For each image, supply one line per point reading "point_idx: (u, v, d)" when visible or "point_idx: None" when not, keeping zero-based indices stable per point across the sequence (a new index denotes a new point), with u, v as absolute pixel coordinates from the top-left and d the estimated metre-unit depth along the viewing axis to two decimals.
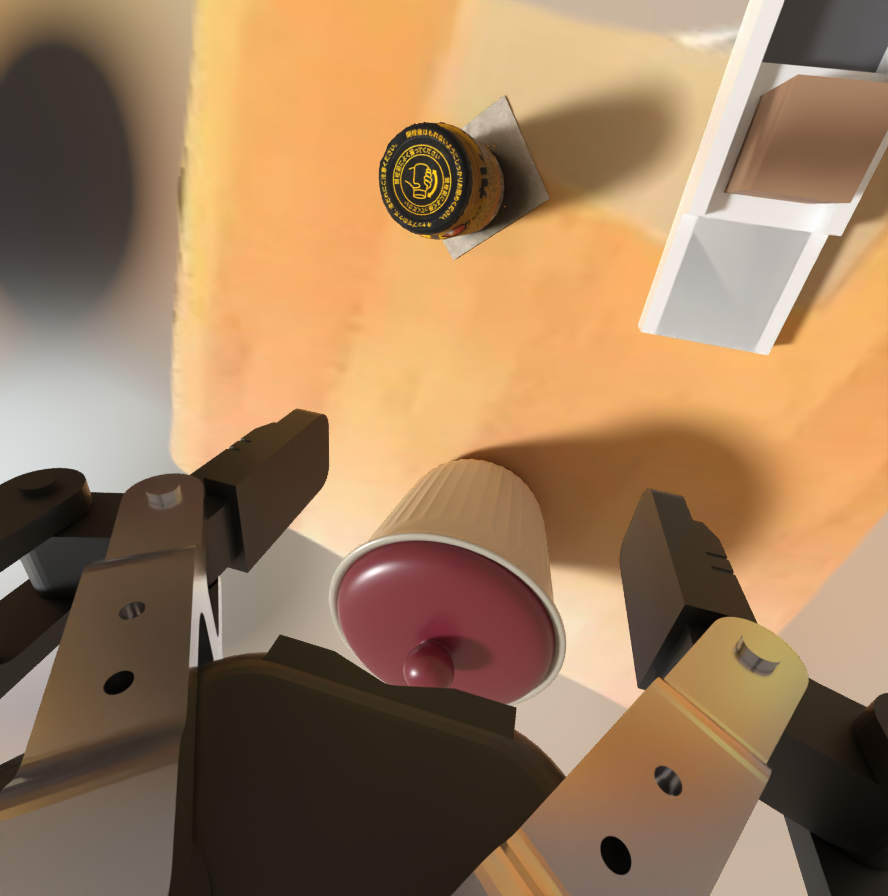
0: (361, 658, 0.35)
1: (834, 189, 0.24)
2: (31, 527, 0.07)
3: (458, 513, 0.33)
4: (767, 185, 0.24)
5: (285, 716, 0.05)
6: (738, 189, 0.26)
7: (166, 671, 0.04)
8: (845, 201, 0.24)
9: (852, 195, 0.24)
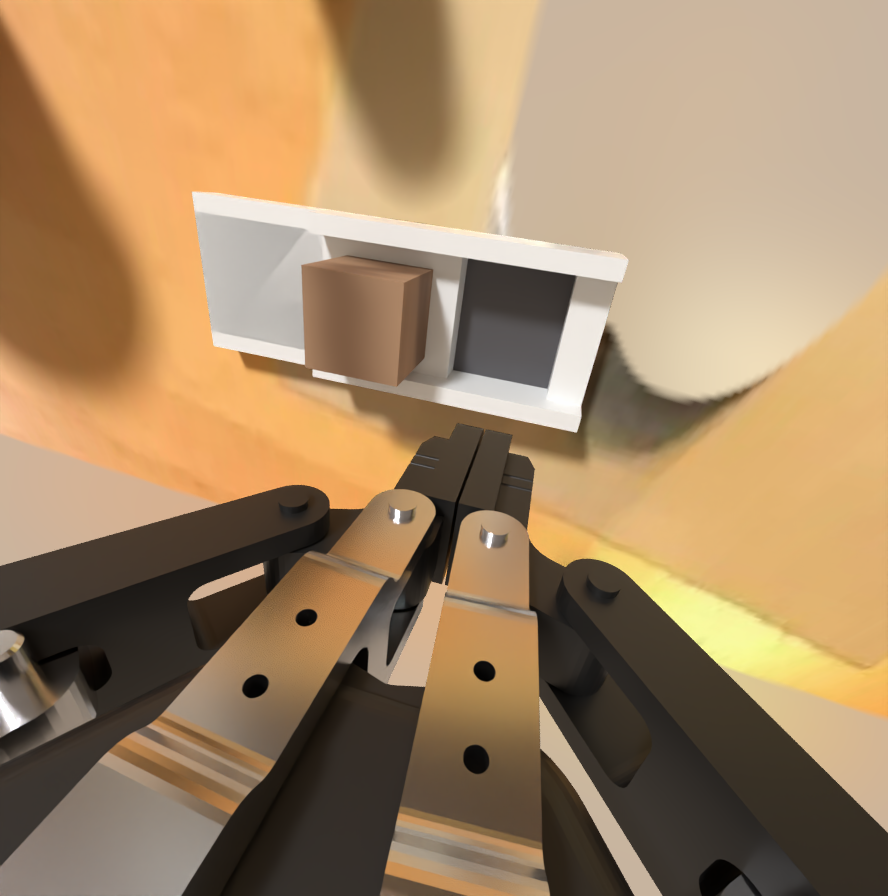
0: None
1: (313, 350, 0.23)
2: (264, 544, 0.07)
3: None
4: (307, 282, 0.21)
5: None
6: (325, 260, 0.23)
7: (289, 702, 0.04)
8: (305, 363, 0.23)
9: (311, 367, 0.23)
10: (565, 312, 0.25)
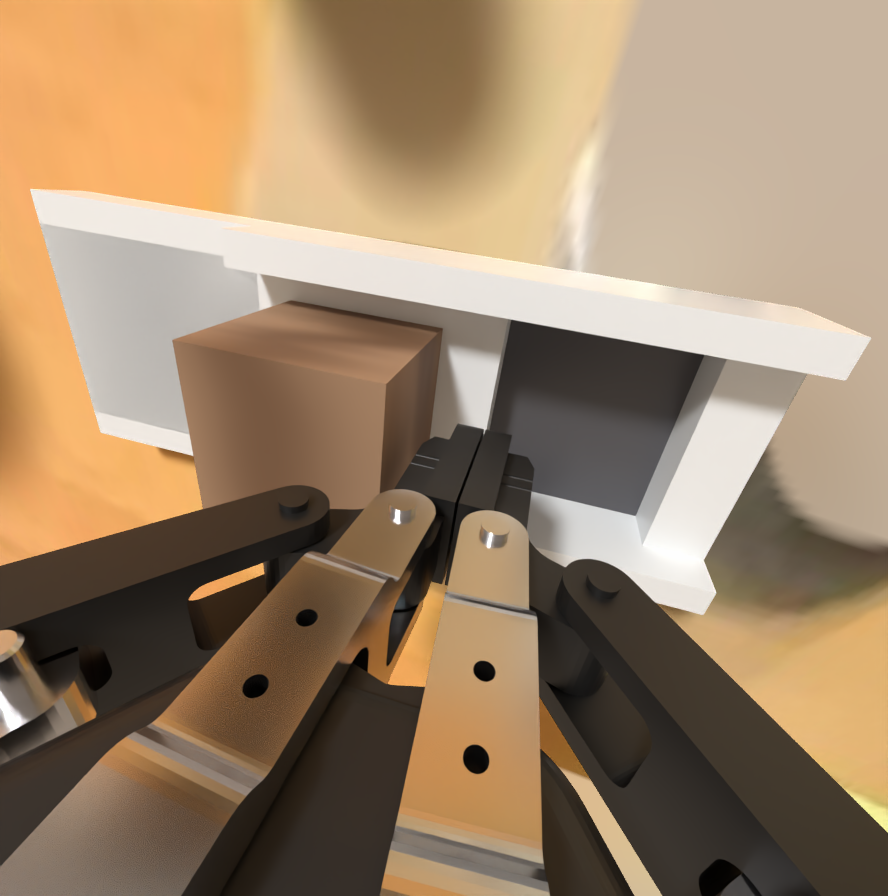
0: None
1: (216, 490, 0.12)
2: (264, 544, 0.07)
3: None
4: (189, 373, 0.10)
5: None
6: (238, 319, 0.12)
7: (290, 703, 0.04)
8: None
9: None
10: (681, 403, 0.14)
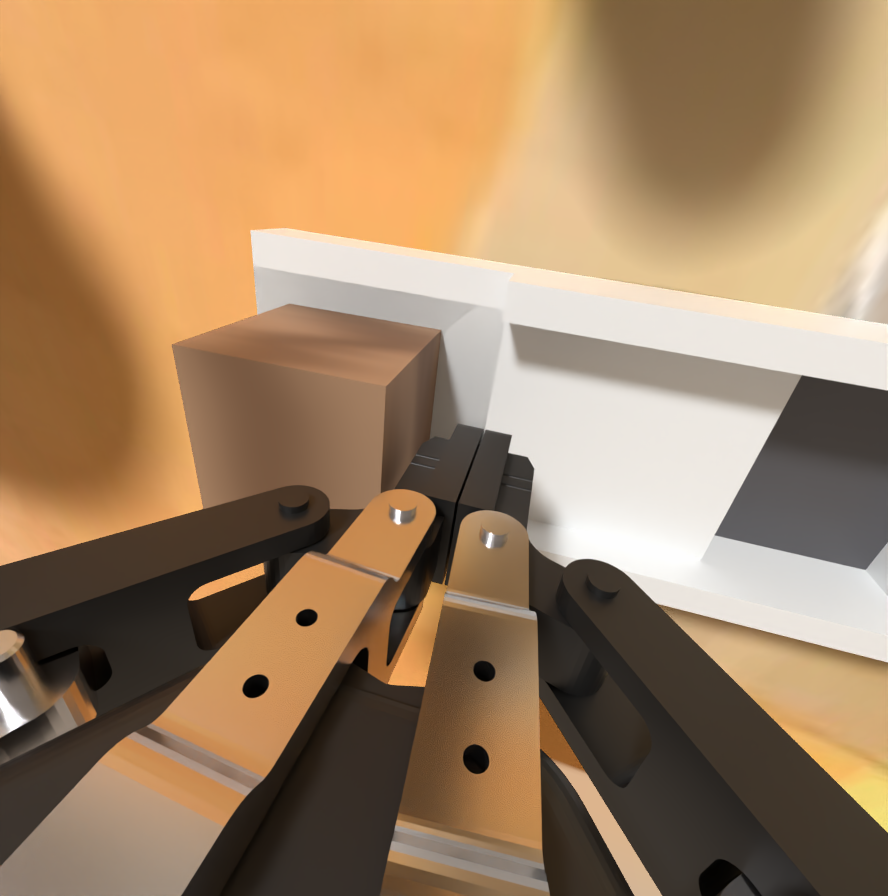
0: None
1: (217, 494, 0.12)
2: (264, 544, 0.07)
3: None
4: (189, 377, 0.10)
5: None
6: (237, 323, 0.12)
7: (290, 703, 0.04)
8: None
9: None
10: None
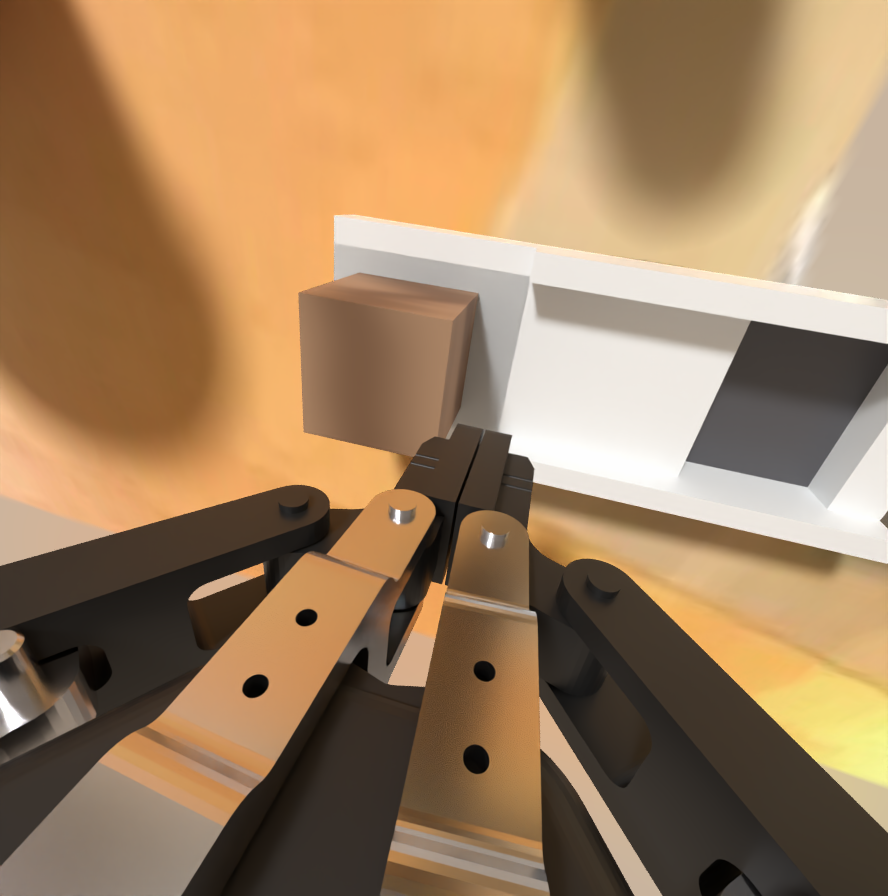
0: None
1: (315, 409, 0.16)
2: (264, 544, 0.07)
3: None
4: (308, 317, 0.14)
5: None
6: (331, 282, 0.16)
7: (290, 703, 0.04)
8: (304, 426, 0.16)
9: (312, 432, 0.16)
10: (867, 392, 0.18)
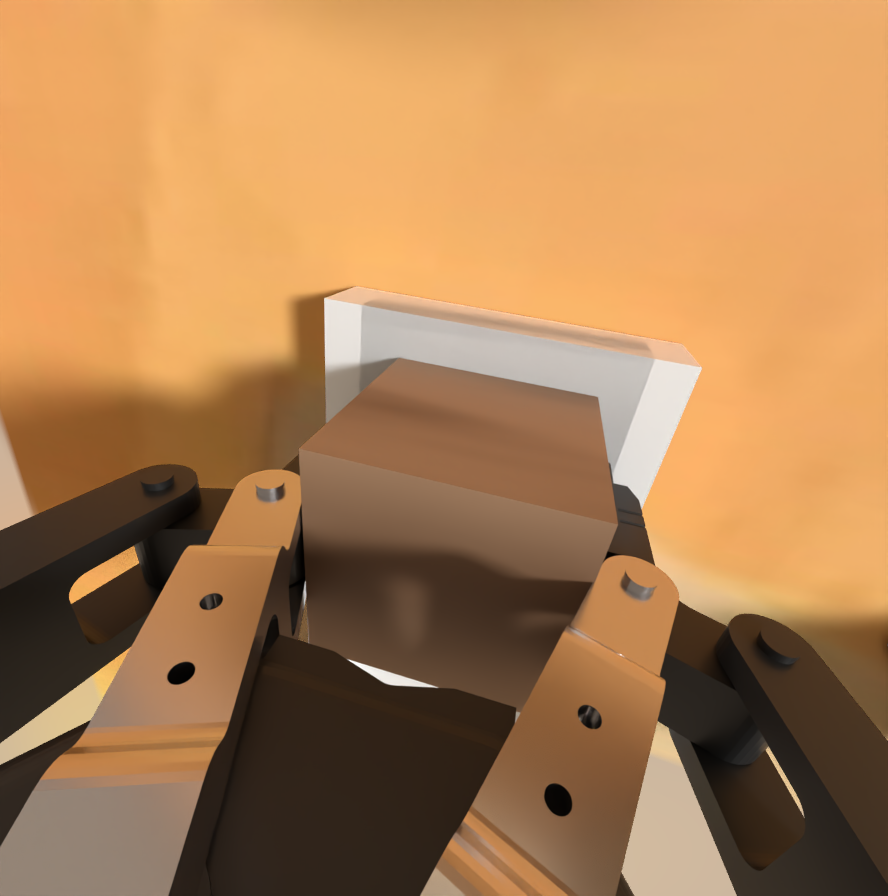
0: None
1: (358, 489, 0.07)
2: (140, 522, 0.07)
3: None
4: (562, 528, 0.07)
5: (285, 716, 0.05)
6: None
7: (223, 673, 0.05)
8: (314, 454, 0.07)
9: (304, 468, 0.07)
10: None
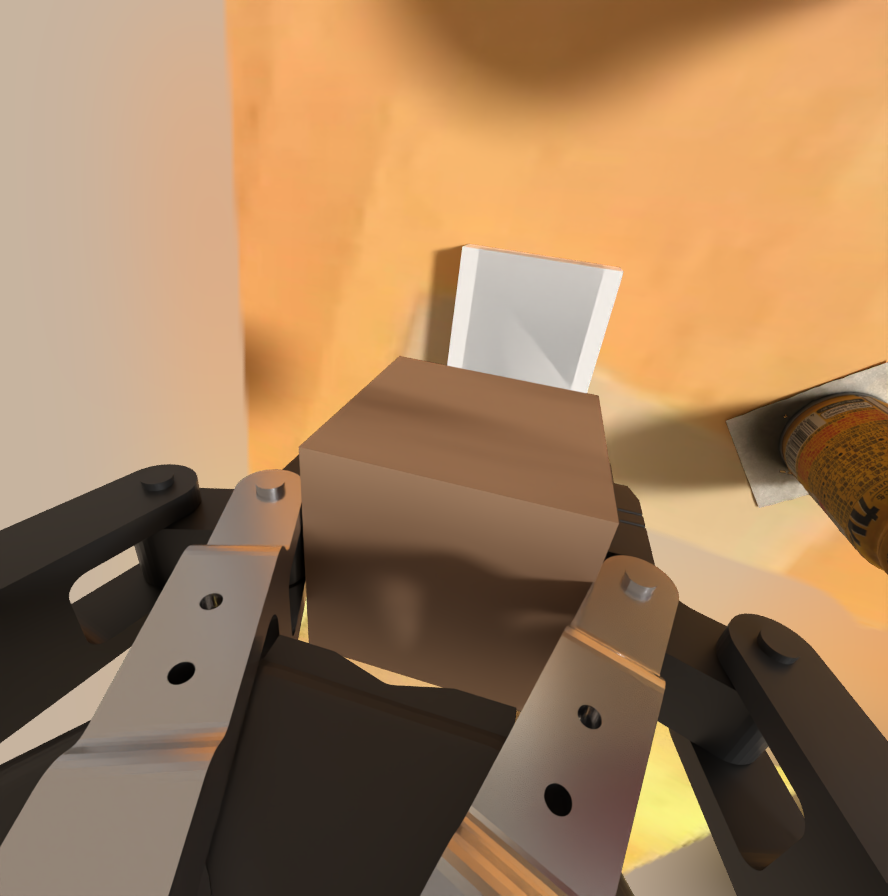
0: None
1: (359, 487, 0.07)
2: (140, 522, 0.07)
3: None
4: (562, 527, 0.07)
5: (285, 716, 0.05)
6: None
7: (223, 673, 0.05)
8: (314, 452, 0.07)
9: (304, 466, 0.07)
10: None
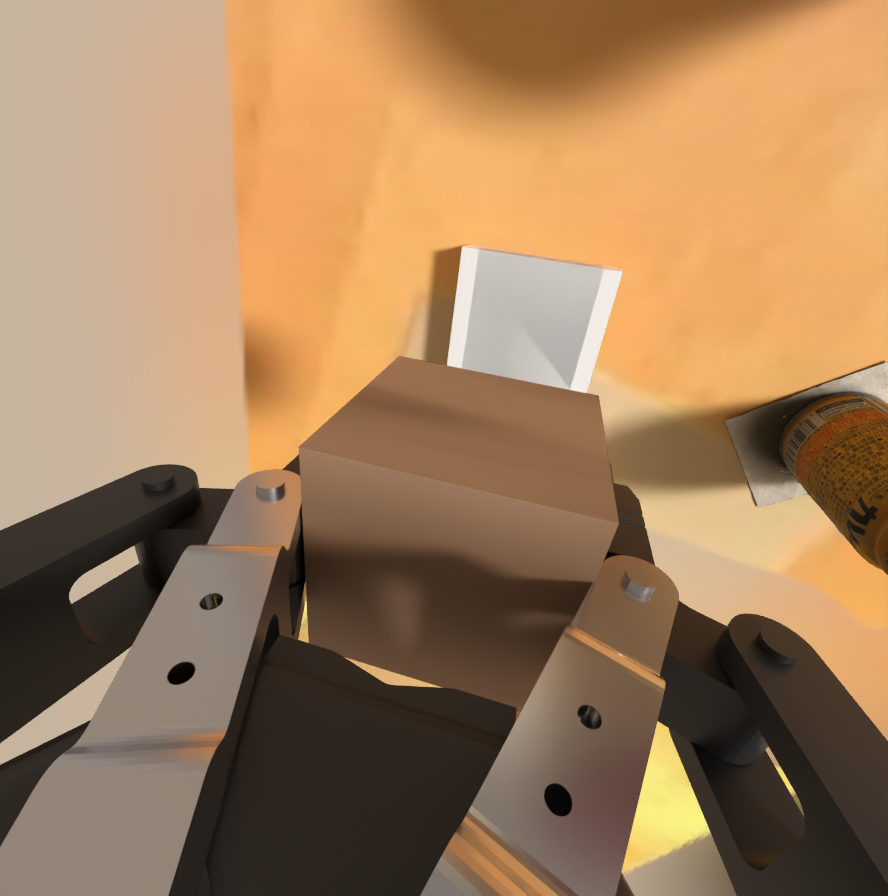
0: None
1: (359, 487, 0.07)
2: (140, 522, 0.07)
3: None
4: (563, 527, 0.07)
5: (285, 716, 0.05)
6: None
7: (223, 673, 0.05)
8: (314, 452, 0.07)
9: (304, 466, 0.07)
10: None
